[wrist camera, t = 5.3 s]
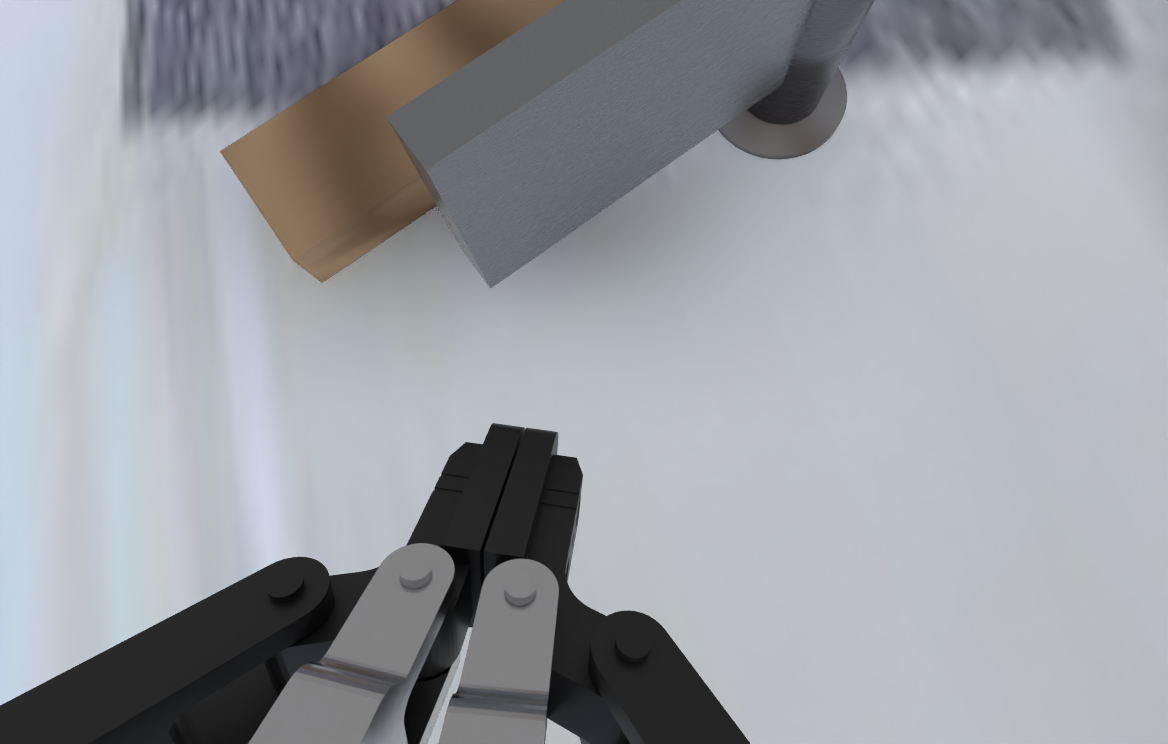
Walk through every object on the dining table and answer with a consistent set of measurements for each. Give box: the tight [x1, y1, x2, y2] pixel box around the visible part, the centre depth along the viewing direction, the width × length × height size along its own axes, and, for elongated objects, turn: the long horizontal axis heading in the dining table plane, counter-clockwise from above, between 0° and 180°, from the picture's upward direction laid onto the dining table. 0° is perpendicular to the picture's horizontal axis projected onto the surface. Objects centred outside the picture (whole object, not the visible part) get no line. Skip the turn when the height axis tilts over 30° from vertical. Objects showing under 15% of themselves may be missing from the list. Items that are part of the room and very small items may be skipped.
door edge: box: [220, 0, 847, 282], centre depth 23 cm, size 26×18×8 cm
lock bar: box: [386, 0, 874, 288], centre depth 20 cm, size 17×4×10 cm, turn 126°
